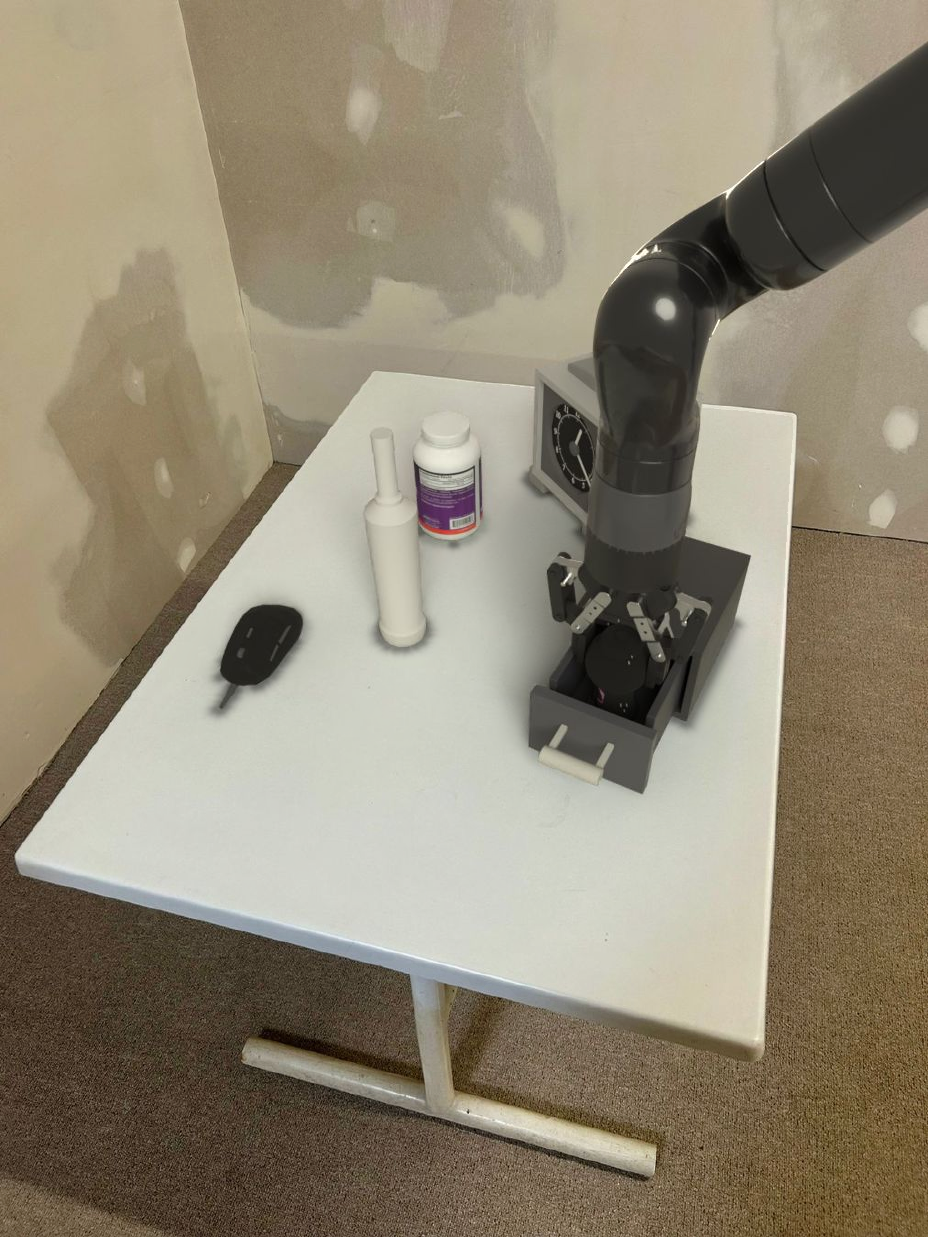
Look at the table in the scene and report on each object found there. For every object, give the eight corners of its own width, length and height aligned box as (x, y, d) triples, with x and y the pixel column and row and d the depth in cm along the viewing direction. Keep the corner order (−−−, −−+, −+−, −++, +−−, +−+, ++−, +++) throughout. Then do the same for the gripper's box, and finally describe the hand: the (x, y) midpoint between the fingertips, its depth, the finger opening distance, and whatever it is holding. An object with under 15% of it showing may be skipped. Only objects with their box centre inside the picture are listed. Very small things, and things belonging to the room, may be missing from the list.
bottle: (389, 612, 97) (364, 415, 80) (433, 619, 96) (417, 421, 79) (373, 644, 93) (344, 445, 76) (419, 652, 92) (399, 452, 75)
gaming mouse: (194, 702, 88) (184, 675, 85) (263, 607, 98) (256, 580, 95) (248, 716, 87) (240, 689, 84) (313, 618, 97) (308, 591, 94)
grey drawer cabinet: (686, 721, 84) (702, 653, 78) (568, 677, 89) (573, 609, 82) (733, 623, 94) (751, 555, 87) (624, 587, 99) (633, 520, 92)
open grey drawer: (624, 832, 75) (633, 779, 69) (506, 781, 79) (507, 727, 73) (694, 687, 86) (707, 632, 81) (589, 649, 91) (594, 594, 85)
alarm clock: (525, 476, 115) (528, 347, 103) (608, 449, 119) (620, 322, 107) (602, 552, 103) (616, 417, 91) (691, 519, 107) (716, 386, 95)
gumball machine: (569, 689, 83) (575, 613, 76) (628, 677, 84) (639, 601, 77) (592, 742, 78) (601, 667, 71) (654, 729, 79) (668, 653, 72)
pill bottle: (438, 498, 112) (432, 399, 102) (493, 515, 109) (493, 414, 99) (406, 533, 107) (397, 432, 97) (463, 551, 104) (459, 449, 94)
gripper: (745, 516, 65) (709, 668, 77) (570, 469, 71) (561, 618, 82) (714, 574, 61) (681, 727, 72) (530, 518, 66) (526, 669, 78)
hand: (617, 668), depth 77 cm, fingers closed on gumball machine, 6 cm apart
